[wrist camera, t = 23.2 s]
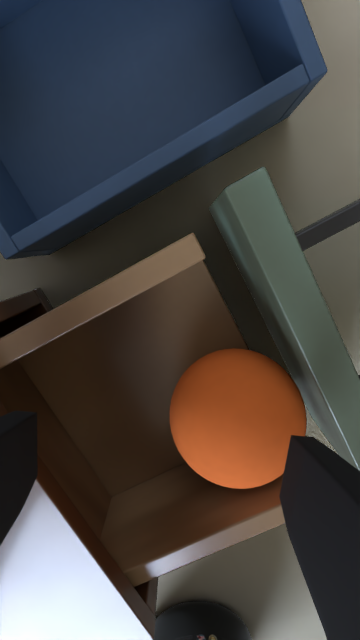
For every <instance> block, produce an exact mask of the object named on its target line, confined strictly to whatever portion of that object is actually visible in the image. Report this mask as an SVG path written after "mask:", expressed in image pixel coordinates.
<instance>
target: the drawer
mask: <svg viewBox="0 0 360 640" xmlns="http://www.w3.org/2000/svg"><path fill="white" fill-rule="evenodd" d="M209 210H210V212H211V214H212V217H213V219H214V221H215V223H216V225H217V227H218V229H219V231H220V233H221V235H222V237H223V239H224V241H225V243H226V245H227V247H228V249H229V251H230V253H231V255H232V257H233V259H234V261H235V263H236V265H237V267H238V269H239V271H240V273H241V275H242V277H243V279H244V281H245V283H246V285H247V287H248V289H249V291H250V293H251V295H252V297H253V299H254V302H255V304H256V306H257V308H258V310H259V312H260V314H261V316H262V318H263V320H264V322H265V324H266V326H267V328H268V330H269V332H270V334H271V336H272V338H273V340H274V342H275V344H276V346H277V348H278V350H279V352H280V354H281V356H282V358H283V360H284V362H285V364H286V366H287V368H288V370H289V372H290V374H291V376H292V378H293V380H294V382H295V383H296V385H297V387H298V389H299V391H300V393H301V396H302V398H303V401H304V403H305V405H306V407H307V409H308V411H309V413H310V415H311V417H312V418H313V420H314V421H315V423H316V424H317V425H318V427H319V428H320V430H321V431H322V432H323V434H324V435H325V437H326V438H327V439H328V441H329V442H330V443H331V445H332V446H333V448H334V449H335V450H336V452H337V453H338V455H339V456H340V457H342V458H343V459H344V460H346V461H347V462H348V463H350V464H351V465H352V466H354V467H355V468H356V469H358V470H359V471H360V375H358V374H357V372H356V370H355V367H354V365H353V363H352V361H351V358H350V356H349V354H348V352H347V349H346V347H345V345H344V343H343V340H342V338H341V336H340V334H339V331H338V329H337V327H336V325H335V322H334V320H333V318H332V316H331V313H330V311H329V309H328V307H327V304H326V302H325V300H324V298H323V295H322V293H321V291H320V289H319V286H318V284H317V282H316V280H315V278H314V275H313V273H312V271H311V269H310V266H309V264H308V262H307V260H306V257H305V255H304V253H303V251H304V250H306V249H308V248H310V247H311V246H313V245H315V244H317V243H319V242H321V241H323V240H325V239H327V238H329V237H331V236H332V235H334V234H336V233H338V232H340V231H342V230H344V229H346V228H348V227H350V226H352V225H354V224H355V223H357V222H359V221H360V199H358V200H356V201H355V202H353V203H351V204H349V205H347V206H345V207H343V208H341V209H339V210H338V211H336V212H334V213H332V214H330V215H328V216H326V217H324V218H323V219H321V220H319V221H317V222H315V223H313V224H311V225H309V226H307V227H306V228H304V229H302V230H300V231H298V232H296V233H294V230H293V228H292V226H291V224H290V221H289V219H288V217H287V215H286V212H285V210H284V208H283V206H282V203H281V201H280V199H279V197H278V194H277V192H276V190H275V188H274V185H273V183H272V181H271V179H270V176H269V174H268V172H267V170H266V168H265V167H261V168H259V169H257V170H256V171H254V172H252V173H250V174H248V175H247V176H245V177H243V178H241V179H240V180H238V181H236V182H234V183H232V184H231V185H229V186H227V187H226V188H225V189H224V190H223V191H222V192H221V194H220V195H219V196H218V197H217V198H216V200H215V201H214V202H213V203H212V204H211V206H210V207H209ZM205 258H206V255H205V254H204V252H203V250H202V248H201V246H200V244H199V242H198V240H197V238H196V236H195V234H194V233H190V234H188V235H187V236H185V237H183V238H181V239H179V240H178V241H176V242H174V243H172V244H170V245H168V246H167V247H165V248H163V249H161V250H159V251H158V252H156V253H154V254H152V255H150V256H149V257H147V258H145V259H143V260H141V261H140V262H138V263H136V264H134V265H132V266H131V267H129V268H127V269H125V270H123V271H121V272H120V273H118V274H116V275H114V276H112V277H111V278H109V279H107V280H105V281H103V282H102V283H100V284H98V285H96V286H94V287H93V288H91V289H89V290H87V291H85V292H83V293H82V294H80V295H78V296H76V297H74V298H73V299H71V300H69V301H67V302H65V303H64V304H62V305H60V306H58V307H56V308H55V309H53V310H51V311H49V312H47V313H45V314H44V315H42V316H40V317H38V318H36V319H35V320H33V321H31V322H29V323H27V324H26V325H24V326H22V327H20V328H18V329H17V330H15V331H13V332H11V333H9V334H7V335H6V336H4V337H2V338H0V402H1V403H2V404H3V406H4V407H5V409H6V410H7V411H8V413H11V412H13V411H26V412H37V453H38V455H39V456H40V457H41V459H42V460H43V462H44V463H45V464H46V466H47V467H48V469H49V470H50V471H51V473H52V474H53V475H54V477H55V478H56V480H57V481H58V482H59V484H60V485H61V487H62V488H63V489H64V491H65V492H66V494H67V495H68V496H69V498H70V499H71V501H72V502H73V503H74V505H75V506H76V508H77V509H78V510H79V512H80V513H81V514H82V516H83V517H84V519H85V520H86V521H87V523H88V524H89V526H90V527H91V528H92V530H93V531H94V533H95V534H96V535H97V537H98V538H99V540H100V541H101V542H102V544H103V545H104V547H105V548H106V549H107V551H108V552H109V553H110V555H111V556H112V558H113V559H114V560H115V562H116V563H117V565H118V566H119V567H120V569H121V570H122V572H123V573H124V574H125V576H126V577H127V579H128V580H129V581H130V583H131V584H132V586H133V587H135V586H138V585H140V584H142V583H145V582H147V581H149V580H152V579H154V578H157V577H159V576H161V575H164V574H166V573H168V572H171V571H173V570H175V569H178V568H180V567H183V566H185V565H187V564H190V563H192V562H194V561H197V560H199V559H202V558H204V557H206V556H209V555H211V554H213V553H216V552H218V551H220V550H223V549H225V548H228V547H230V546H232V545H235V544H237V543H239V542H242V541H244V540H247V539H249V538H251V537H254V536H256V535H258V534H261V533H263V532H265V531H268V530H270V529H273V528H275V527H277V526H280V525H282V524H284V523H285V519H284V515H283V511H282V506H281V502H280V497H279V495H280V490H281V485H282V479H283V474H284V473H283V474H282V475H281V476H279V477H278V478H276V479H275V480H273V481H271V482H269V483H267V484H264V485H262V486H258V487H254V488H247V489H235V488H229V487H224V486H220V485H218V484H215V483H212V482H210V481H208V480H207V479H205V478H203V477H202V476H200V475H199V474H198V473H196V472H195V471H194V470H193V469H192V468H191V467H190V466H189V465H188V464H187V462H186V461H185V460H184V459H183V457H182V456H181V454H180V452H179V451H178V449H177V447H176V444H175V442H174V439H173V436H172V433H171V427H170V404H171V398H172V395H173V392H174V389H175V387H176V385H177V383H178V381H179V379H180V378H181V376H182V375H183V373H184V372H185V371H186V370H187V369H188V368H189V367H190V366H191V365H192V364H193V363H194V362H196V361H197V360H198V359H200V358H202V357H203V356H205V355H207V354H210V353H212V352H215V351H218V350H223V349H232V348H236V349H246V350H250V349H249V348H248V346H247V344H246V342H245V340H244V338H243V336H242V334H241V332H240V330H239V328H238V326H237V324H236V322H235V320H234V318H233V316H232V315H231V313H230V311H229V309H228V307H227V305H226V303H225V301H224V299H223V297H222V295H221V293H220V291H219V289H218V287H217V285H216V283H215V281H214V280H213V278H212V276H211V274H210V272H209V270H208V268H207V266H206V264H205V262H204V260H203V259H205Z"/></svg>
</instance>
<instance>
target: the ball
mask: <svg viewBox="0 0 360 640" xmlns="http://www.w3.org/2000/svg"><path fill="white" fill-rule="evenodd" d="M170 427H171V433H172V436H173V439H174V442H175V444H176V447H177V449H178V451H179V452H180V454H181V456H182V457H183V459H184V460H185V461H186V462H187V464H188V465H189V466H190V467H191V468H192V469H193V470H194V471H195V472H196V473H198V474H199V475H200V476H202V477H203V478H205V479H207V480H208V481H210V482H212V483H215V484H218V485H220V486H224V487H229V488H235V489H247V488H254V487H258V486H262V485H264V484H267V483H269V482H271V481H273V480H275V479H276V478H278V477H279V476H281V475H282V474H283V473H284V469H285V464H286V458H287V453H288V448H289V443H290V438H291V435H296V436H305V433H306V410H305V406H304V401H303V398H302V396H301V393H300V391H299V389H298V387H297V385H296V383H295V382H294V380H293V379H292V378H291V376H290V375H289V374H288V373H287V372H286V371H285V369H284V368H283V367H281V366H280V365H279V364H278V363H277V362H275V361H274V360H272V359H271V358H269V357H267V356H265V355H263V354H261V353H258V352H255V351H252V350H246V349H236V348H232V349H223V350H218V351H215V352H212V353H210V354H207V355H205V356H203V357H202V358H200V359H198V360H197V361H196V362H194V363H193V364H192V365H191V366H190V367H189V368H188V369H187V370H186V371H185V372H184V373H183V375H182V376H181V378H180V379H179V381H178V383H177V385H176V387H175V389H174V392H173V395H172V398H171V404H170Z"/></svg>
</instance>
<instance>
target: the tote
mask: <svg viewBox="0 0 360 640" xmlns="http://www.w3.org/2000/svg"><path fill="white" fill-rule="evenodd" d="M326 73H327V67H326V65H325V62H324V59H323V57H322V54H321V52H320V49H319V46H318V44H317V41H316V39H315V36H314V33H313V31H312V28H311V26H310V23H309V20H308V18H307V15H306V12H305V10H304V7H303V5H302V2H301V0H0V252H1V254H2V255H3V257H4V258H5V259H6V260H7V259H16V258H24V257H33V256H41V255H50V254H52V253H53V252H55V251H57V250H58V249H60V248H62V247H64V246H65V245H67V244H69V243H71V242H72V241H74V240H76V239H78V238H79V237H81V236H83V235H84V234H86V233H88V232H90V231H91V230H93V229H95V228H97V227H98V226H100V225H102V224H104V223H105V222H107V221H109V220H110V219H112V218H114V217H116V216H117V215H119V214H121V213H123V212H124V211H126V210H128V209H130V208H131V207H133V206H135V205H137V204H138V203H140V202H142V201H143V200H145V199H147V198H149V197H150V196H152V195H154V194H156V193H157V192H159V191H161V190H163V189H164V188H166V187H168V186H169V185H171V184H173V183H175V182H176V181H178V180H180V179H182V178H183V177H185V176H187V175H189V174H190V173H192V172H194V171H195V170H197V169H199V168H201V167H202V166H204V165H206V164H208V163H209V162H211V161H213V160H215V159H216V158H218V157H220V156H222V155H223V154H225V153H227V152H228V151H230V150H232V149H234V148H235V147H237V146H239V145H241V144H242V143H244V142H246V141H248V140H249V139H251V138H253V137H254V136H256V135H258V134H260V133H261V132H263V131H265V130H267V129H268V128H270V127H272V126H274V125H275V124H277V123H279V122H280V121H282V120H284V119H286V118H287V117H289V116H290V115H291V113H292V112H293V111H294V110H295V109H296V107H297V106H298V105H299V104H300V103H301V102H302V101H303V99H304V98H305V97H306V96H307V95H308V94H309V92H310V91H311V90H312V89H313V88H314V87H315V85H316V84H317V83H318V82H319V81H320V80H321V79H322V77H323V76H324V75H325V74H326Z"/></svg>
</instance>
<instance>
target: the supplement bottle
mask: <svg viewBox="0 0 360 640" xmlns="http://www.w3.org/2000/svg"><path fill="white" fill-rule="evenodd" d="M153 640H252V637H251V634H250V632H249V630H248V628H247V626H246V625H245V623H244V622H243V621H242V620H241V619H240V618H239V617H238V616H237V615H236V614H235V613H234V612H232V611H231V610H229V609H228V608H226V607H224V606H221V605H219V604H216V603H212V602H206V601H191V602H185V603H181V604H178V605H175V606H173V607H171V608H169V609H167V610H166V611H164V612H163V613H161V614H160V615H159V616H158V617H157V618H156V619H155V633H154V639H153Z"/></svg>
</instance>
